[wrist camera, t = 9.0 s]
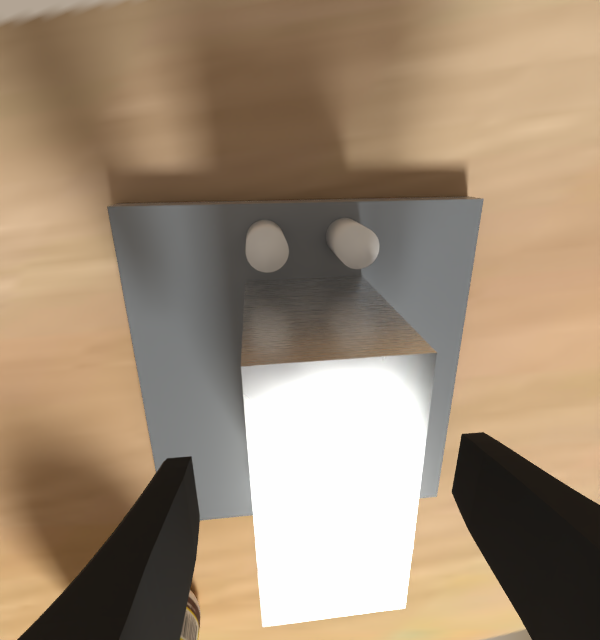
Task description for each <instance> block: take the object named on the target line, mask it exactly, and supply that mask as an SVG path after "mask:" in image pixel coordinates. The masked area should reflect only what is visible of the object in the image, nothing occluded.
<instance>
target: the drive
mask: <svg viewBox="0 0 600 640" xmlns="http://www.w3.org/2000/svg"><path fill="white" fill-rule="evenodd" d="M436 357H437V352H436V351H435V350H434V349H433V348H432V347H431V346H430V345H429V344H428V343H427V342H426V341H425V340H424V339H423V338H422V337H421V336H420V335H419V334H418V333H417V332H416V331H415V330H414V329H413V328H412V327H411V326H410V324H409V323H408V322H407V321H406V320H405V319H404V318H403V317H402V316H401V315H400V314H399V313H398V312H397V311H396V310H395V309H394V308H393V307H392V306H391V305H390V304H389V303H388V302H387V301H386V300H385V299H384V298H383V297H382V296H381V295H380V294H379V293H378V292H377V291H376V290H375V289H374V288H373V286H372V285H371V284H370V283H369V282H368V281H367V280H366V279H365V278H364V277H363V276H362V275H360V276H340V277H319V278H298V279H278V280H257V281H245V294H244V314H243V334H242V353H241V374H242V386H243V399H244V411H245V423H246V435H247V447H248V459H249V471H250V483H251V495H252V507H253V519H254V531H255V543H256V556H257V568H258V580H259V592H260V604H261V616H262V627H268V626H276V625H283V624H291V623H298V622H305V621H313V620H320V619H328V618H335V617H342V616H350V615H357V614H365V613H372V612H379V611H387V610H394V609H402V608H405V605H406V597H407V589H408V581H409V573H410V565H411V557H412V549H413V541H414V533H415V525H416V517H417V509H418V501H419V493H420V485H421V477H422V469H423V461H424V453H425V445H426V437H427V429H428V421H429V413H430V405H431V397H432V389H433V381H434V373H435V365H436Z"/></svg>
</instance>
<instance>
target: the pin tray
mask: <svg viewBox="0 0 600 640" xmlns="http://www.w3.org/2000/svg"><path fill="white" fill-rule="evenodd" d="M482 205H483V199H481V198H475V197H418V198H367V199H317V200H266V201H216V202H165V203H117V204H114V205H111V206H108V207H107V208H108V213H109V219H110V224H111V230H112V235H113V240H114V246H115V251H116V257H117V262H118V268H119V273H120V278H121V284H122V289H123V295H124V300H125V306H126V311H127V316H128V322H129V327H130V333H131V338H132V344H133V349H134V354H135V360H136V365H137V371H138V376H139V382H140V387H141V392H142V398H143V403H144V409H145V414H146V420H147V425H148V431H149V436H150V441H151V447H152V452H153V458H154V463H155V469H156V472H157V471H158V469H159V468H160V466H161V465H162V463H163V462H164V461H165V460H166V459H167V458H176V457H188V456H192V463H193V470H194V477H195V484H196V492H197V499H198V506H199V513H200V520H209V519H219V518H229V517H239V516H249V515H253V507H252V495H251V483H250V471H249V459H248V447H247V435H246V423H245V411H244V399H243V386H242V374H241V353H242V334H243V314H244V294H245V281H257V280H278V279H298V278H319V277H340V276H360V275H362V276H363V277H364V278H365V279H366V280H367V281H368V282H369V283H370V284H371V285H372V286H373V288H374V289H375V290H376V291H377V292H378V293H379V294H380V295H381V296H382V297H383V298H384V299H385V300H386V301H387V302H388V303H389V304H390V305H391V306H392V307H393V308H394V309H395V310H396V311H397V312H398V313H399V314H400V315H401V316H402V317H403V318H404V319H405V320H406V321H407V322H408V323H409V324H410V326H411V327H412V328H413V329H414V330H415V331H416V332H417V333H418V334H419V335H420V336H421V337H422V338H423V339H424V340H425V341H426V342H427V343H428V344H429V345H430V346H431V347H432V348H433V349H434V350H435V351H436V352H437V357H436V365H435V373H434V381H433V389H432V397H431V405H430V413H429V421H428V429H427V437H426V445H425V453H424V461H423V469H422V477H421V485H420V493H419V498H427V497H437V492H438V486H439V479H440V473H441V466H442V460H443V454H444V447H445V441H446V435H447V428H448V422H449V415H450V409H451V403H452V396H453V390H454V384H455V377H456V371H457V365H458V358H459V352H460V345H461V339H462V333H463V326H464V320H465V314H466V307H467V301H468V294H469V288H470V282H471V275H472V269H473V263H474V256H475V250H476V244H477V237H478V231H479V224H480V218H481V212H482Z"/></svg>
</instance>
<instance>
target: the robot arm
mask: <svg viewBox="0 0 600 640" xmlns="http://www.w3.org/2000/svg"><path fill="white" fill-rule="evenodd" d="M452 494H453V496H454V498H455V501H456V503H457V506H458V508H459V510H460V513H461V515H462V517H463V519H464V521H465V524H466V526H467V528H468V530H469V532H470V534H471V535H472V537H473V539H474V541H475V542H476V544H477V546H478V547H479V549H480V551H481V553H482V554H483V556H484V558H485V559H486V561H487V563H488V564H489V566H490V568H491V570H492V571H493V573H494V575H495V576H496V578H497V580H498V581H499V583H500V585H501V586H502V588H503V590H504V591H505V593H506V595H507V596H508V598H509V600H510V602H511V603H512V605H513V607H514V608H515V610H516V612H517V613H518V615H519V617H520V618H521V620H522V622H523V624H524V626H525V627H526V629H527V631H528V633H529V635H530V637H531V638H532V640H600V505H599V504H597V503H595V502H594V501H592V500H590V499H588V498H587V497H585V496H583V495H582V494H580V493H578V492H577V491H575V490H574V489H572V488H570V487H569V486H567V485H565V484H564V483H562V482H561V481H559V480H558V479H556V478H554V477H553V476H551V475H550V474H548V473H547V472H545V471H543V470H542V469H540V468H539V467H537V466H536V465H534V464H533V463H531V462H530V461H528V460H526V459H525V458H523V457H522V456H520V455H519V454H517V453H516V452H514V451H513V450H511V449H509V448H508V447H506V446H505V445H503V444H502V443H500V442H499V441H497V440H495V439H494V438H492V437H490V436H489V435H487V434H485V433H483V432H482V433H469V434H462V436H461V442H460V448H459V454H458V459H457V465H456V471H455V477H454V482H453V488H452ZM199 522H200V513H199V506H198V499H197V492H196V484H195V477H194V470H193V463H192V456H188V457H176V458H167V459H166V460H165V461H164V462H163V463H162V465H161V466H160V468H159V469H158V471H157V472H156V474H155V475H154V477H153V478H152V480H151V481H150V483H149V484H148V486H147V487H146V488H145V490H144V491H143V493H142V494H141V496H140V497H139V498H138V500H137V501H136V503H135V504H134V505H133V507H132V508H131V509H130V511H129V512H128V513H127V515H126V516H125V517H124V519H123V520H122V521H121V523H120V524H119V525H118V527H117V528H116V529H115V531H114V532H113V533H112V535H111V536H110V537H109V538H108V540H107V541H106V542H105V543H104V544H103V546H102V547H101V548H100V549H99V551H98V552H97V553H96V554H95V555H94V557H93V558H92V559H91V560H90V562H89V563H88V564H87V565H86V566H85V568H84V569H83V570H82V571H81V572H80V573H79V575H78V576H77V577H76V578H75V579H74V580H73V581H72V583H71V584H70V585H69V586H68V587H67V588H66V589H65V590H64V592H63V593H62V594H61V595H60V596H59V597H58V598H57V599H56V600H55V601H54V602H53V603H52V605H51V606H50V607H49V608H48V609H47V610H46V611H45V612H44V613H43V614H42V615H41V616H40V617H39V618H38V619H37V620H36V621H35V622H34V623H33V624H32V625H31V626H30V627H29V628H28V629H27V630H26V631H25V632H24V633H23V634H22V635H21V636H20V637H19V638H18V639H17V640H180V637H181V632H182V627H183V622H184V617H185V612H186V607H187V602H188V597H189V592H190V587H191V582H192V577H193V572H194V567H195V561H196V554H197V544H198V533H199Z"/></svg>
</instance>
